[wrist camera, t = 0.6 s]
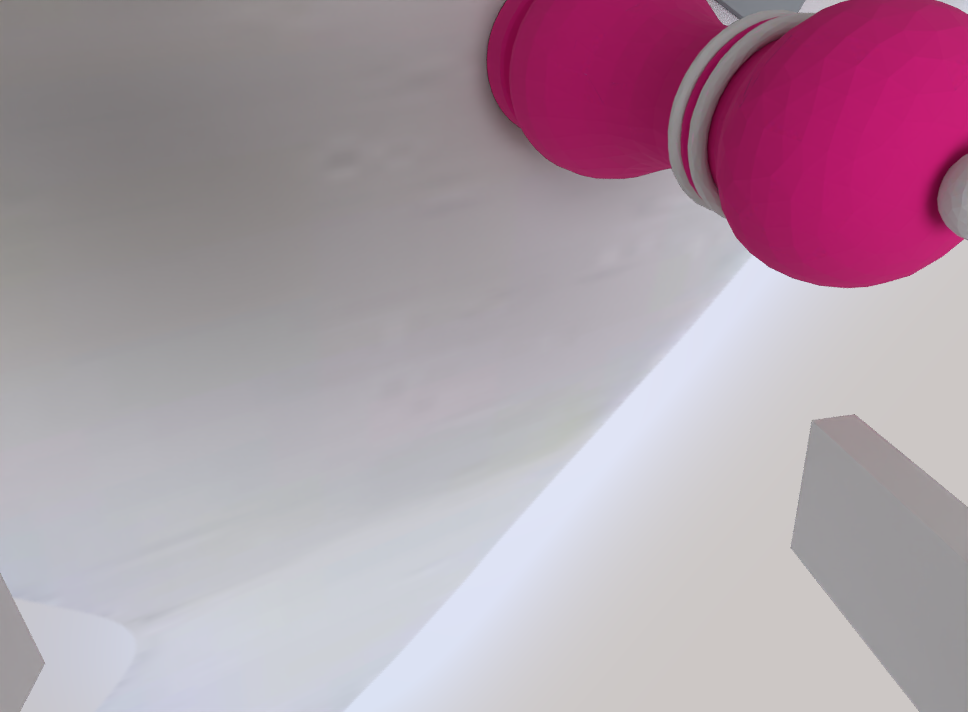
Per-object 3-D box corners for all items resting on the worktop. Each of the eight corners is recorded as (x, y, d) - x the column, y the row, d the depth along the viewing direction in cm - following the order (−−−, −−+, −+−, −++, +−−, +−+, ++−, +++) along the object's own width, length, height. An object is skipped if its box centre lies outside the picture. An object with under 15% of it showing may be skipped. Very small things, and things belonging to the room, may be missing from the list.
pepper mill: (513, -82, 25) (1080, -135, 9) (666, -3, 28) (1290, 65, 12) (448, 116, 28) (787, 359, 11) (594, 167, 31) (1023, 414, 15)
